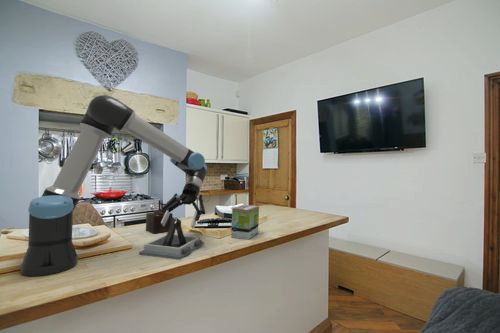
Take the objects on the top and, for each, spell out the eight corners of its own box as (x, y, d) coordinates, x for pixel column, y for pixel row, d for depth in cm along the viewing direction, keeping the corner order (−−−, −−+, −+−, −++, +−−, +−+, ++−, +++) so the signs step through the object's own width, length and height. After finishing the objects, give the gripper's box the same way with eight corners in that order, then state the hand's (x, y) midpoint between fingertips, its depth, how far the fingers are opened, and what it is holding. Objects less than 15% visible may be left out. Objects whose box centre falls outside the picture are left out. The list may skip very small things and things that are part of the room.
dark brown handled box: (155, 234, 130) (155, 199, 130) (145, 230, 138) (145, 197, 138) (181, 229, 142) (182, 197, 142) (171, 226, 149) (171, 195, 149)
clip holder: (139, 254, 100) (139, 245, 100) (168, 240, 120) (168, 233, 120) (181, 259, 95) (181, 250, 95) (205, 244, 115) (205, 236, 115)
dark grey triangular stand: (165, 250, 102) (166, 220, 102) (162, 246, 107) (163, 217, 108) (187, 247, 107) (188, 218, 107) (183, 243, 112) (184, 216, 112)
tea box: (249, 240, 124) (250, 209, 124) (230, 237, 127) (231, 207, 127) (258, 232, 138) (259, 205, 138) (241, 230, 141) (241, 204, 141)
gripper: (218, 193, 124) (207, 232, 109) (171, 191, 129) (153, 228, 114) (215, 183, 119) (202, 222, 104) (166, 181, 124) (147, 218, 109)
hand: (177, 225), depth 109 cm, fingers open, 13 cm apart
